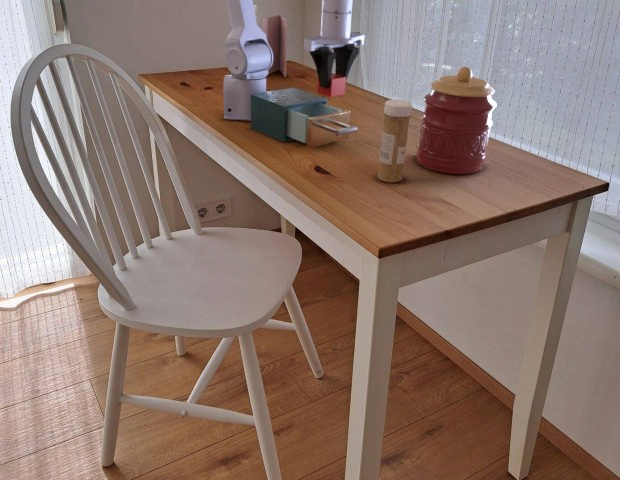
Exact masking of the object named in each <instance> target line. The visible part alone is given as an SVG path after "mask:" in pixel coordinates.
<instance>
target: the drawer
mask: <svg viewBox="0 0 620 480" xmlns="http://www.w3.org/2000/svg"><path fill="white" fill-rule="evenodd" d="M350 123H351V110H348V109H344V110H342V109H341V108H338V107H335V106H333V105H329V104H327V105H326V104H323V103H316V104H310V105H305V106H300V107H295V108H290V109H287V113H286V136H288V137H291V138H293V139H296V141H297V142H298V141H299V142H301V143H303V144H306V146H307V147H308V148H310V149H311V148H315V147H319V146H320V147H321V146H324V145H327V144H332V143H335V142H339V141H344V140H348V139H349V138H350V137H349V134H353V133H356V132H357V131H358V127H357V126H356V125H350Z"/></svg>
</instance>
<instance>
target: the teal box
mask: <svg viewBox="0 0 620 480" xmlns="http://www.w3.org/2000/svg"><path fill="white" fill-rule="evenodd" d="M316 103H323V104H326V105H328V97H324V96H321V95H317V94H314V93H312V92H309V91H305V90H302V89H299V88H296V87H288V88H282V89H277V90H276V89H275V90H270V91H269V90H268V91H266V92H263V93H257V94H251V121H250V129H251V130H253V131H255V132H258V133H260V134H262V135H265V136H268V137H270V138H273V139H275V140H277V141H279V142H282V143H287V142H291V141H295V140H296V139H293V138H291V137H288V136H286V113H287V109H290V108H295V107H300V106H305V105H310V104H316ZM296 141H297V140H296Z"/></svg>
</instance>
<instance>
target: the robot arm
mask: <svg viewBox="0 0 620 480" xmlns="http://www.w3.org/2000/svg"><path fill="white" fill-rule="evenodd" d="M321 1H322V2H321V3H322V4H321V19H320V20H321V22H320V23H321V25H320V35H317V36H313V37H308V38H304V39H303V50H304V51H306V52H309V54H310V56H311V58H312V60H313V63H314V65H315V68H316V73H317V79H318V78H319V84H320V87H323V88H329V86H330V81H331V73H333V72H332V71H333V66H334V64H335V72H334V74H337V75H341V76H344V77H346V81H347V80H348V76H349V74H350V71H351V68H352V66H353V64H354V62H355V60H356V58H357V57H358V55H359V54H360V48H359V47H356V46H364V45H365V35H366V34H364V33H358V32H357V33H351V30H352V16H353V5H354V4H353V2H354V0H321ZM225 3H226V10H227V13H228V18H229V24H230V28H231V31H230V32H229V34H228V36H227V38H226V39H225V41H224V45H225V65H226V68H227V70H228V72H229V73H230V74H226V75H224V78H223V85H222V88H223V90H222V92H223V120H229V121H230V120H231V121H233V120H234V121H248V122H251V94H257V93H263V92H267V76H268V75H269V74H268V70H269V69H270V68H271V66H272V64H273V52H272V49H271V47H270V46H269V44H268V41H267V37H266V34H265V33H264V32H263V31H262V30H261V29H260V28H259V27H258V26H257V23H256V17H257V16H256V17H255V12H254V7H253V4H254V1H253V0H225ZM245 42H248V43H249V44H244V43H245ZM331 49H332V50H333V51H331Z"/></svg>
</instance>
